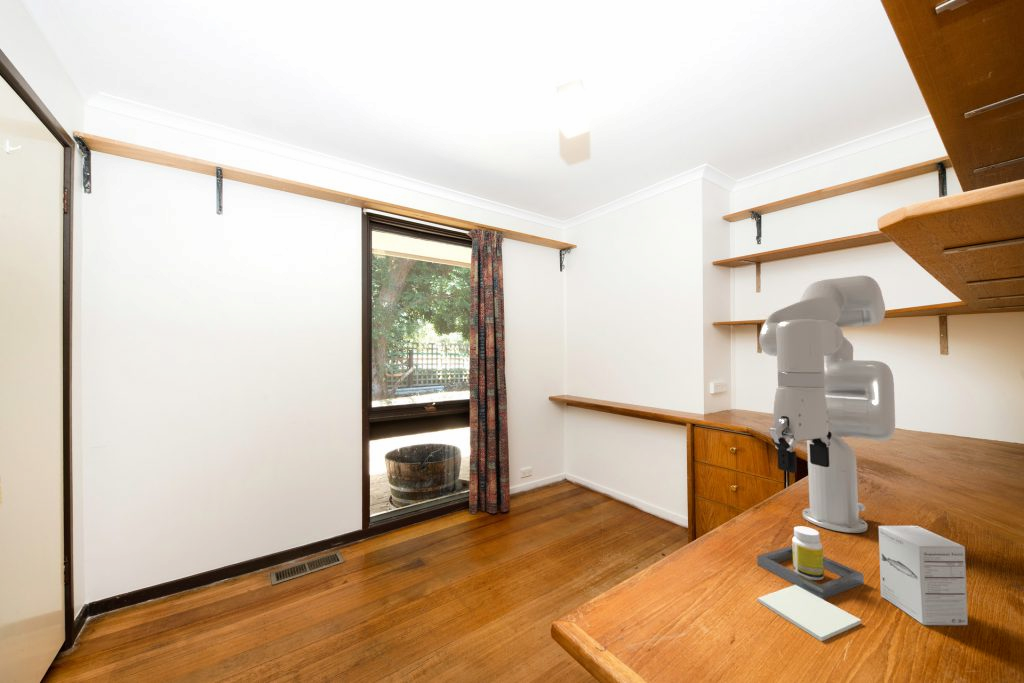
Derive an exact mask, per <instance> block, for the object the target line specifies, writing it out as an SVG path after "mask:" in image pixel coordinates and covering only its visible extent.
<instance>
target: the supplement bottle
mask: <svg viewBox="0 0 1024 683" xmlns="http://www.w3.org/2000/svg"><path fill="white" fill-rule="evenodd" d="M793 535H794V536H793V537H791V538H792V539H791V542H792V544H791V546H792V548H793V558H792V567H793V569H792V570H793V571H794V572H796V573H798V574H800V575H802V576H804V577H806V578H808V579H810V580H812V581H820V580H823V579H824V578H825V575H824V574H825V573H824V568H823V556H824V548H823V545H822V544H823V543H821V542H820V541H821V537H820V536H821V535H820V532H819V531H818V530H817V529H814V528H811V527H808V526H801V525H800V526H799V525H798V526H794V527H793Z"/></svg>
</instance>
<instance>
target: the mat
mask: <svg viewBox="0 0 1024 683" xmlns="http://www.w3.org/2000/svg"><path fill="white" fill-rule="evenodd" d="M757 602H758V603H760V604H761V605H762V606H764V607H766V608H767V609H769V610H770V611H772V612H773V613H776V614H777V615H779V616H780V617H782V618H783V619H785V620H786V621H788V622H790V623H791V624H793V625H794V626H796V627H797V628H799V629H801V630H803V632H805V633H807V634H809V635H810V636H812V637H813V638H815V639H816V640H818V641H820V642H823V641H826V640H828V639H830V638H832V637H834V636H836V635H839V634H841V633H843V632H846V631H848V630H850V629H853V628H855V627H856V626H859V625H861V624H862V620H861V619H860V618H859V617H857V616H855V615H853V614H851V613H849V612H847V611H846V610H844V609H842V608H839V607H838V606H836V605H835V604H832V603H830V602H828V601H827V600H826V599H821V598H819V597H817V596H816V595H814V594H812V593H810V592H808V591H806V590H804V589H802V588H801V587H799V586H797V585H795V584H793V585H790V586H788V587H784V588H782V589H779V590H777V591H776V590H775V591H774V592H771V593H767V594H765V595H763V596H759V597H757Z"/></svg>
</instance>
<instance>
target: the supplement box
mask: <svg viewBox="0 0 1024 683" xmlns="http://www.w3.org/2000/svg"><path fill="white" fill-rule="evenodd" d="M878 548H879V549H878V551H879V553H878V554H879V576H880V578H879V580H880V596H881V598H883V599H885V600H886V601H888V602H889V603H891V604H893V605H894V606H896V607H897V608H899V609H900V610H902V612H904V613H906V614H907V615H909V616H910V617H911V618H912V619H915V620H916V621H917V622H919V623H920V624H921V625H923V626H968V624H969V623H968V599H967V598H968V596H967V593H968V592H967V572H966V547H965V546H964V545H962V544H960V543H957V542H955V541H953V540H950V539H948V538H946V537H943V535H939V534H937V533H934V532H932V531H930V530H927V529H926V528H923V527H921V526H920V525H919V526H918V525H878Z"/></svg>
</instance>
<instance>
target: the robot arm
mask: <svg viewBox="0 0 1024 683" xmlns="http://www.w3.org/2000/svg"><path fill="white" fill-rule="evenodd" d="M882 292H883V291H882V290H881V287H880V285H879V284H878V282H877V280H875V279H874V278H872V277H871V276H868V275H854V276H847V277H839V278H829V279H823V280H822V279H821V280H818V281H814V282H813V283H811V284H809V285H808V286H807V287H806V289H805V290H804V292H803V294H802V296H801V297H800V300H799V301H798V302H795V303H792V304H790V305H788V306H786V307H783V308H780V309H778V310H775V311H774V312H772V313H771V314H770V315H768V316H767V318H766V319H765V321H764V322H763V325H762V326H761V329H760V333H759V336H758V337H759V338H758V339H759V345H760V349H761V350H762V351H763V353H764V354H766V355H768V356H773V357H776V360H777V362H776V363H777V364H776V365H777V366H776V368H777V388H776V391H775V394H774V402H773V417H772V419H773V421H772V422H773V423H772V426H770V428H769V433H770V436H771V437H772V438H771V440H772V442H773V443H774V444H773V445H774V447H775V449H776V450H777V451H776V452H777V467H778V469H779V470H781V471H785V472H788V473H791V474H795V473H797V472H798V467H797V466H798V465H797V452H796V451H795V448H796V446H797V443H798V442H803V441H806V448H807V449H806V450H807V470H808V471H807V472H808V473H807V474H808V497H809V498H808V499H809V507H808V508H807V507H806V508H804V509H802V517H803V519H804V520H806V521H807V522H809V523H811V524H813V525H816V526H818V527H821V528H824V529H827V530H831V531H834V532H835V531H836V532H839V533H840V532H842V533H849V534H850V533H851V534H860V533H861V534H862V533H865V532H867V530H868V523H867V522H866V520H864V519H862V518H860V517H859V515H860V514H859V513H860V512H862V511H863V512H864V511H865V510H866V506H865V505H864V503H862V502H859V498H858V496H859V495H858V476H857V475H858V474H857V469H858V468H857V458H856V453H855V450H853V449H852V447H851V446H850V444H848V443H847V442H846V441H845V440H844V439H843V438H853V439H854V438H856V439H864V440H871V441H887V440H890V439H892V438H893V436H894V435H895V431H896V406H895V405H896V404H895V400H896V399H895V383H894V381H895V380H894V375H893V372H892V369H891V368H890V366H889V365H888V364H886V363H885V362H883V361H880V360H861V359H860V360H859V359H858V360H854V347H853V344H852V343H851V342H850V341H849V340H848V339H847V337H845V336H844V333H843V330H842V329H841V328H851V327H852V328H853V327H857V328H858V327H869V326H870V327H873V326H876V325H878V324H881V323H882V321H883V320H884V318H885V316H886V305H885V300H884V296H883V293H882ZM827 396H828V397H827ZM829 396H830V397H829ZM832 396H833V397H832ZM847 397H848V398H847ZM859 398H862V399H859ZM787 441H788V442H787Z"/></svg>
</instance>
